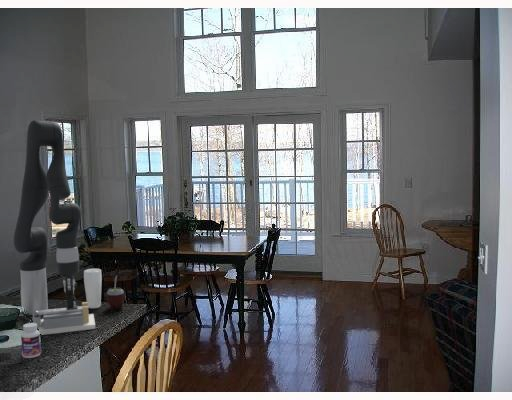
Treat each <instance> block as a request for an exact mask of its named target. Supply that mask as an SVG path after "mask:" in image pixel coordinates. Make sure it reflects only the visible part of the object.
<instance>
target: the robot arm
mask: <svg viewBox="0 0 512 400" xmlns="http://www.w3.org/2000/svg"><path fill="white" fill-rule="evenodd" d="M41 147H51V149H52V158H51V161H50V165H49V166H48V168H47V169H48V170H47V171H46V169H45V167H44V166H43V163H42V161H41V157H40V156H41V155H40V153H41V152H40V149H41ZM24 167H25V168H24V174H23V180H22V187H21V188H22V189H21V197H20V205H19V212H18V217H17V220H16V221H17V222H16V225H15V228H14V234H13V247H14V249H15V251H16V252H18V253H20V254H24V253H29V255H28V256H27V257H26V258H24V259H23V260H22V261H20V264H19V269H20V270H19V271H20V285H21V286H20V303H21V308H22V307H23V308H24V309H25V311H27V312H28V313H29V314H30V315H29V316H33V314H34V311H35V310H36V309H37V310H48V309H49V306H48V305H49V304H48V302H49V301H48V283H47V266H46V265H47V264H46V263H47V261H48V237H47V233H46V230H45V229H44V228H43V227H42V226H33V222H34V219H35V218H36V216H37V214H38V213H39V212H40V211H41V209H42V208H43V206H44V205H45V203H46V201H47V200H48V198H49V211H48V217H49V219H50V220H49V221H50V222H51V223H53V225H56V226H57V225H58V226H59V225H66V224H68V225H67V226H66V228H64V229H61V230H58V231H57V232H56V233H55V240H56V243H55V244H56V245H55V246H56V254H55V255H56V257H55V258H56V274H58V275H64V276H65V277H62V285H63V284H64V285H63V291H64V293H65V298H66V308H72V307H74V304H73V296H75V289H74V283H75V282H76V280H75V279H76V278H75V276H73V275H74V274H78V273H79V272H80V256H79V249H78V232H79V231H78V230H79V226H80V221H81V216H82V213H81V212H82V210H81V208H80V205H78V204H77V203H75V202H70V203H60V201H62V200H65V199H68V198H69V197H70V196H71V189H70V184H69V179H68V176H67V171H66V170H67V169H66V161H65V147H64V135H63V130H62V127H61V125H60V124H59V122H57V121H50V120H36V119H35V120H31V121H30V122H29V124H28V127H27V132H26V156H25V165H24ZM73 292H74V294H73Z"/></svg>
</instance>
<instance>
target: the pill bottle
mask: <svg viewBox="0 0 512 400" xmlns="http://www.w3.org/2000/svg"><path fill="white" fill-rule="evenodd" d="M22 330H23V331H22V332H21V337H20V339H21V340H20V342H21V355H22V358H24V359H33V358H37V357H39V356H40V355H41V353H42V352H41V351H42V350H41V349H42V346H41V335H40V332H39V331H38V330H37V324H36V323H30V322H27V323H25V324H23V325H22Z"/></svg>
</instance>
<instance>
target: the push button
mask: <svg viewBox="0 0 512 400" xmlns="http://www.w3.org/2000/svg"><path fill="white" fill-rule="evenodd" d="M62 285H63V286H64V284H63V283H62ZM77 285H78V282H76V281H75V283H74V290H75V289H76V288H77ZM73 294H74V296H73V304H74V305H78V304H77V303H78V302H77V297H76V296H75V291H74V292H73Z"/></svg>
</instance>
